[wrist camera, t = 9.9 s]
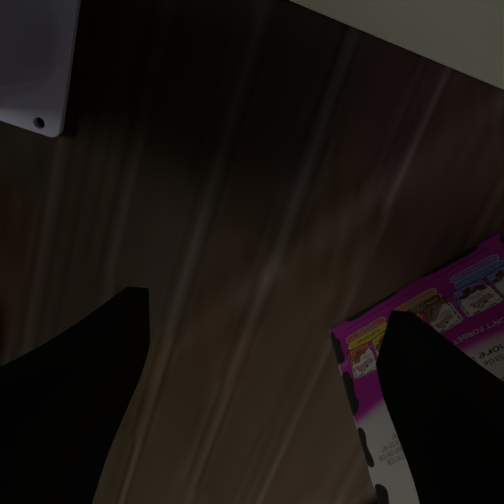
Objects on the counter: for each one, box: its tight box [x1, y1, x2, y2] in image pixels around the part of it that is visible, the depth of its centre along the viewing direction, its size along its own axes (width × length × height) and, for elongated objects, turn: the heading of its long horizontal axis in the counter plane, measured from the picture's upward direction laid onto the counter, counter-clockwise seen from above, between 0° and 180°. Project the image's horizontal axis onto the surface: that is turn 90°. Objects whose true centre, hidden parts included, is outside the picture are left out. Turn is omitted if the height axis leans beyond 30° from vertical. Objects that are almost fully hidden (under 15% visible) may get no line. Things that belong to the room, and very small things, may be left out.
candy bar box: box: [329, 234, 504, 504], centre depth 17 cm, size 11×5×16 cm, turn 127°
